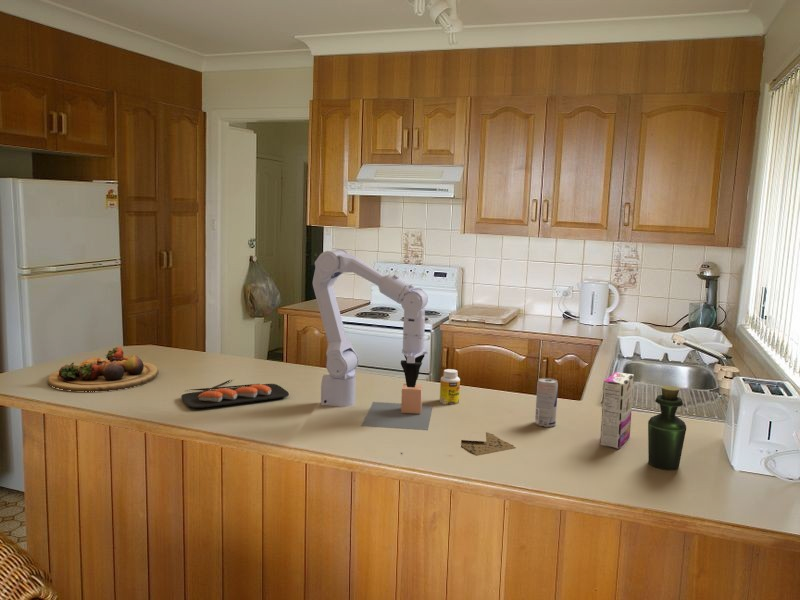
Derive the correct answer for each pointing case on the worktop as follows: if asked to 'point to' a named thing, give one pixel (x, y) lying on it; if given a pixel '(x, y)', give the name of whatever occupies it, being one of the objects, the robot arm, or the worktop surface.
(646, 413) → the worktop surface
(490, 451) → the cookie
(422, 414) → the mat
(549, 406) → the energy drink
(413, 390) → the salmon pink block
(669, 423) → the potion bottle
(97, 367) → the wooden plate with food
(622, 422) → the candy bar box
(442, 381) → the supplement bottle
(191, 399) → the sushi plate
